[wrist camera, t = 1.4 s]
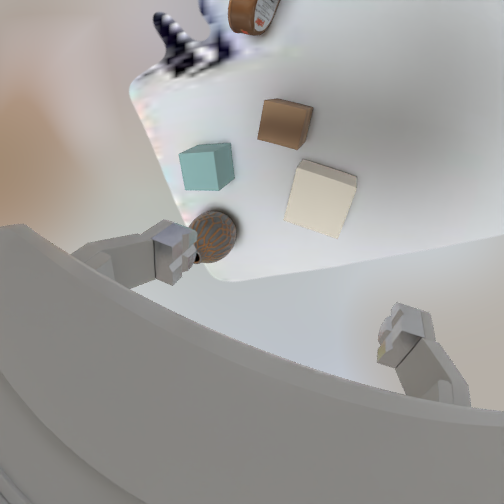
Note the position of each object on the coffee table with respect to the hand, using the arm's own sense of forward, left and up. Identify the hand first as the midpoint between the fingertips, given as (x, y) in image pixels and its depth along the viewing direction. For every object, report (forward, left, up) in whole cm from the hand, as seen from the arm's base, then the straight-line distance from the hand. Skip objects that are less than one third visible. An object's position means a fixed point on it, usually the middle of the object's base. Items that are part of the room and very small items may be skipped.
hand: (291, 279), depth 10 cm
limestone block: (+7, 0, -25) cm, 26 cm away
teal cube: (+7, -15, -26) cm, 30 cm away
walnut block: (-1, -6, -26) cm, 26 cm away
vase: (+17, -13, -26) cm, 33 cm away
